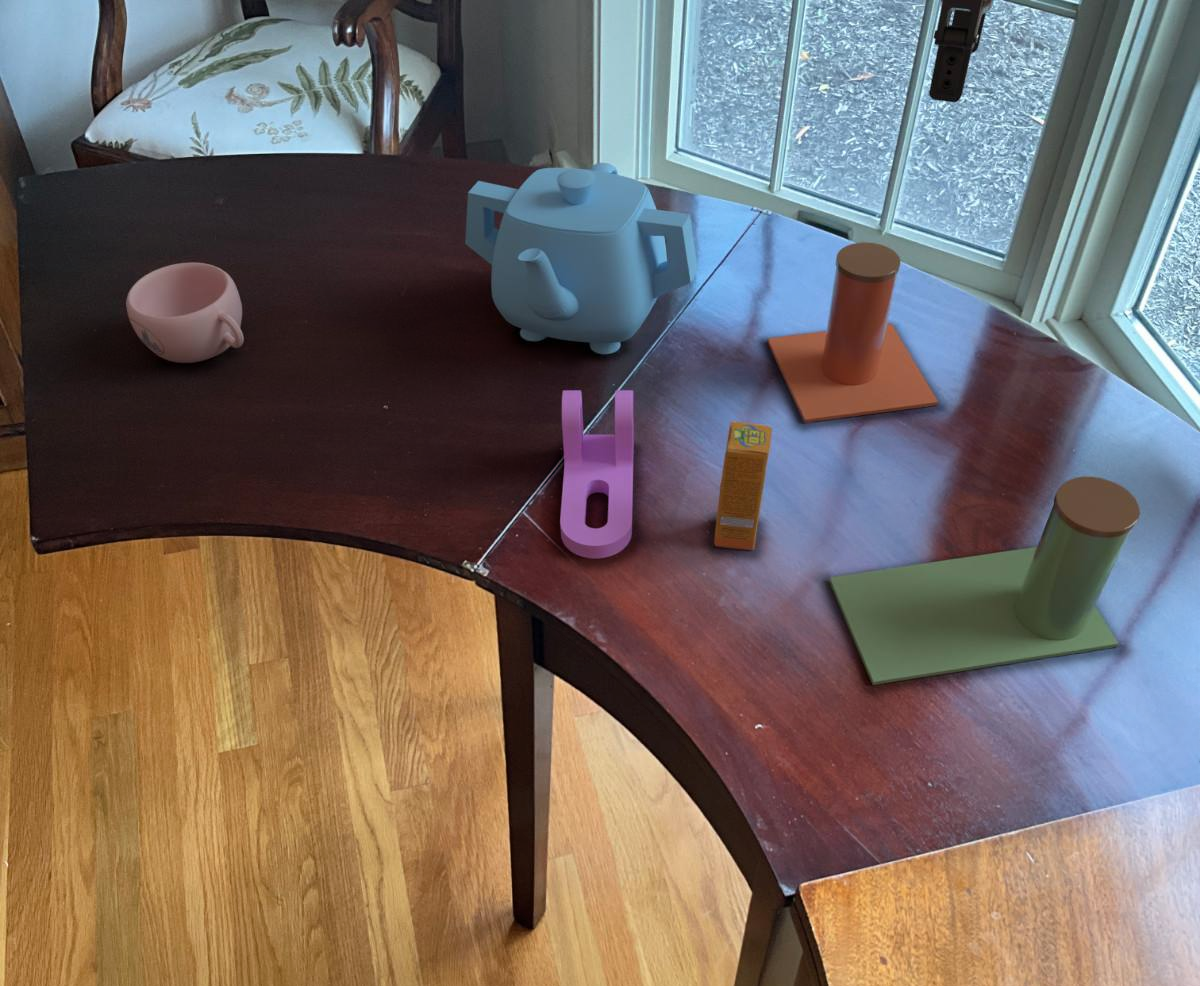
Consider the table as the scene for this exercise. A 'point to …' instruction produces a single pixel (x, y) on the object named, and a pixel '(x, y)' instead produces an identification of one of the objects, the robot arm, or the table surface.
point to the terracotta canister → (859, 312)
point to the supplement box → (742, 485)
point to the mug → (186, 312)
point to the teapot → (579, 253)
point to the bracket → (597, 477)
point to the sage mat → (949, 617)
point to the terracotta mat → (833, 400)
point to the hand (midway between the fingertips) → (953, 73)
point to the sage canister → (1075, 556)
